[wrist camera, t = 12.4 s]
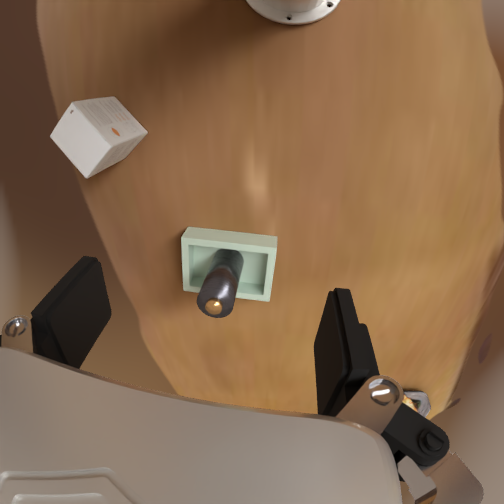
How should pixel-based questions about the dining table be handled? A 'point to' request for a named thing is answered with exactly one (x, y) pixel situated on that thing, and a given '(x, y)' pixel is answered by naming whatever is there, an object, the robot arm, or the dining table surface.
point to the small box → (97, 134)
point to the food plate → (417, 401)
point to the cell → (221, 283)
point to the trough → (249, 245)
